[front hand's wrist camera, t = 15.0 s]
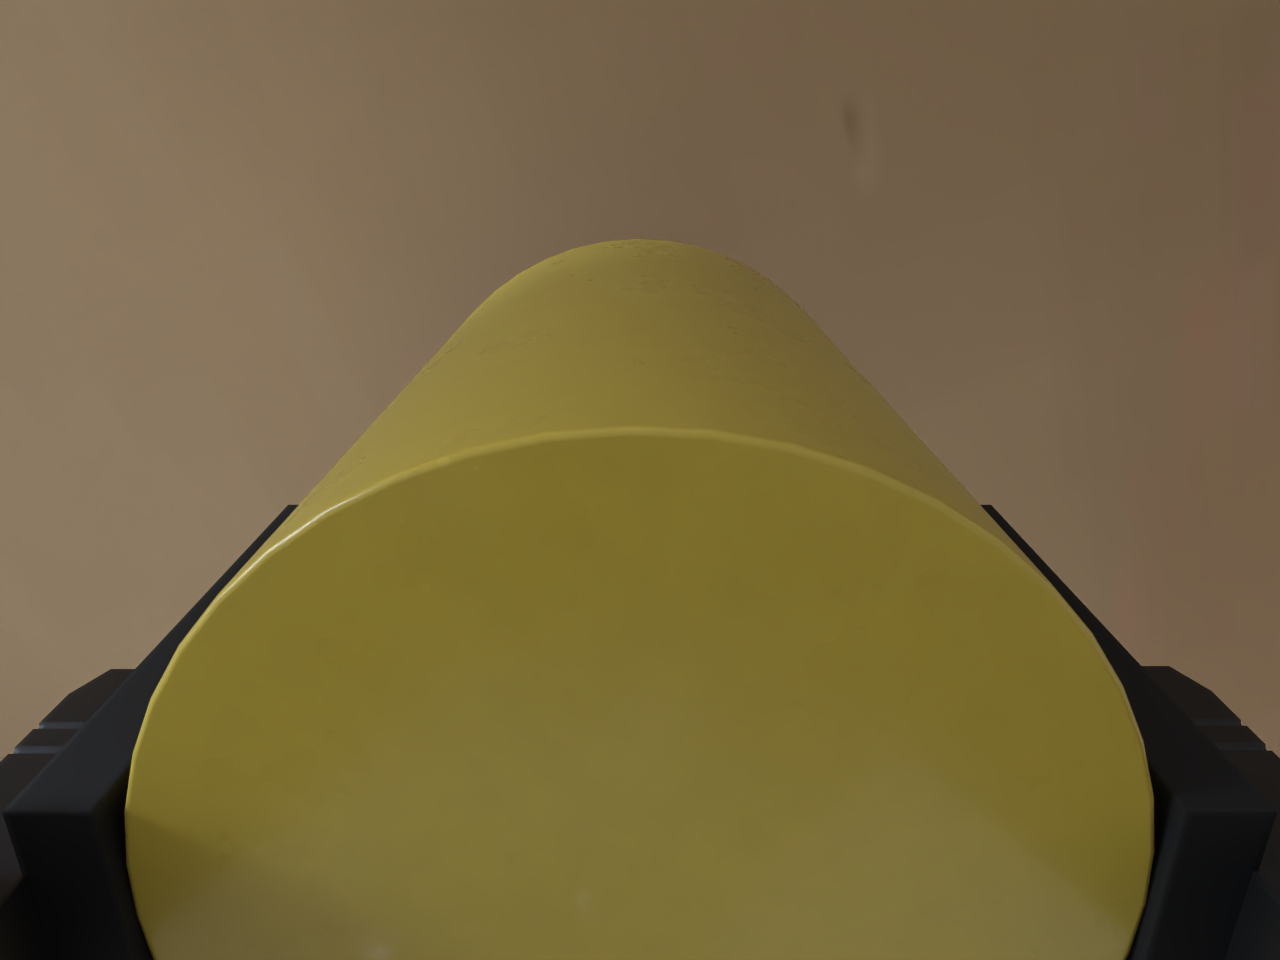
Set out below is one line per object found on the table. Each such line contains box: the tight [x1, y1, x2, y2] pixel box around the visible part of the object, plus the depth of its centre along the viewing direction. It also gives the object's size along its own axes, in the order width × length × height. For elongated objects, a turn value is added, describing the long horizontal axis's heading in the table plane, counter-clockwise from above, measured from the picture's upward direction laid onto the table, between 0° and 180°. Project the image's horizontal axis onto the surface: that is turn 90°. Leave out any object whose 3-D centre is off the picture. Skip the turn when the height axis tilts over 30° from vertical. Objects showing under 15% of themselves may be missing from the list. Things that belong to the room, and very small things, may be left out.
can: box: [125, 239, 1154, 960], centre depth 13 cm, size 9×9×12 cm
